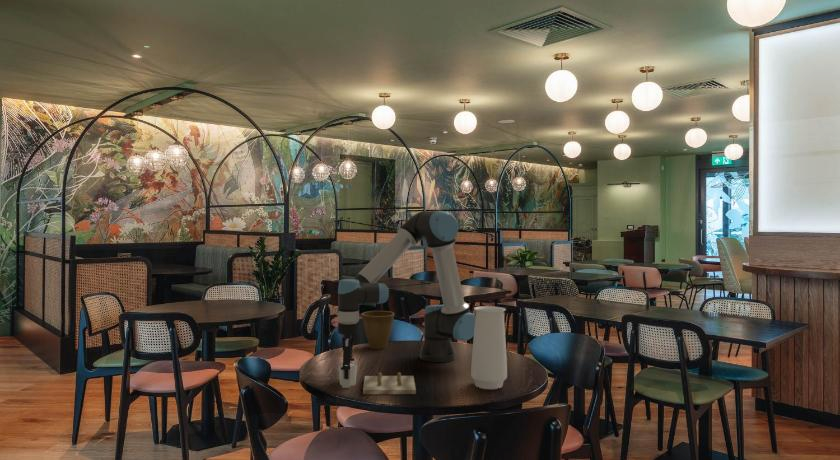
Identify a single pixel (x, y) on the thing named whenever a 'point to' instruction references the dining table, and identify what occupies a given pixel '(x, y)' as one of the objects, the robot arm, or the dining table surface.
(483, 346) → the vase
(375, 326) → the plant pot
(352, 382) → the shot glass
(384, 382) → the pin board
